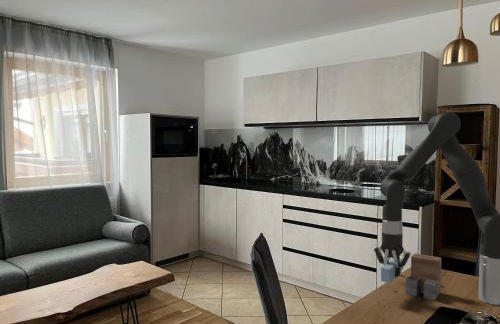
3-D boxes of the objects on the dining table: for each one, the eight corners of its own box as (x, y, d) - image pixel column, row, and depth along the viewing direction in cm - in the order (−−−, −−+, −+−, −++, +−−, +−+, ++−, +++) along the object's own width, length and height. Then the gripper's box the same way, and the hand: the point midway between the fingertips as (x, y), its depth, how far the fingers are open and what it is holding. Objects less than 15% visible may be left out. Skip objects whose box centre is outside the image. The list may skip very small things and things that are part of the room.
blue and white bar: (397, 268, 158) (397, 256, 158) (405, 269, 156) (405, 257, 156) (381, 281, 143) (381, 267, 143) (389, 282, 141) (389, 269, 141)
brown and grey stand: (413, 286, 159) (414, 253, 158) (441, 292, 152) (442, 258, 152) (405, 293, 151) (406, 258, 151) (434, 300, 145) (435, 264, 144)
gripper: (414, 232, 146) (413, 276, 147) (377, 227, 155) (377, 269, 155) (408, 235, 140) (407, 282, 141) (370, 230, 149) (370, 274, 150)
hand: (391, 275), depth 148 cm, fingers closed on blue and white bar, 3 cm apart
